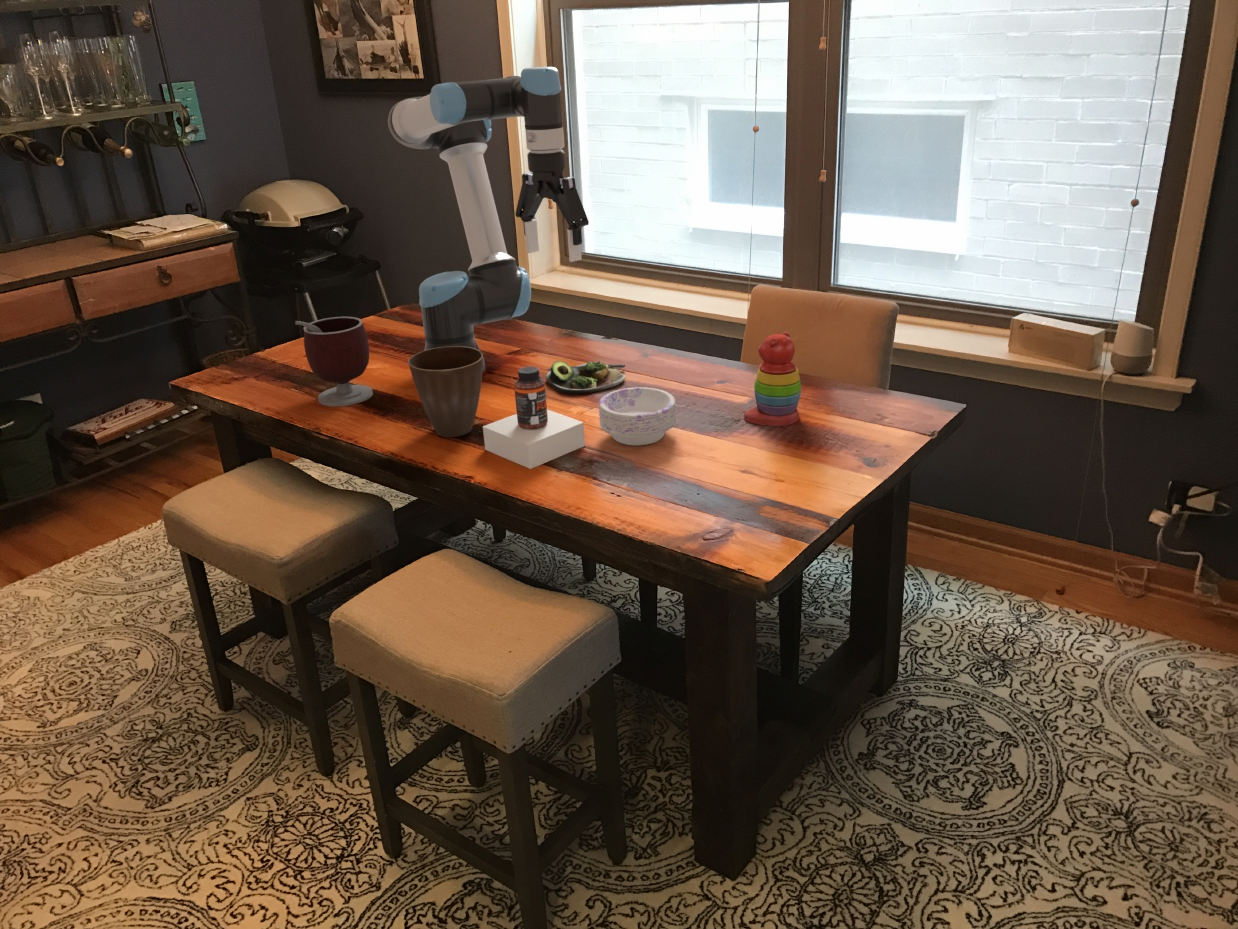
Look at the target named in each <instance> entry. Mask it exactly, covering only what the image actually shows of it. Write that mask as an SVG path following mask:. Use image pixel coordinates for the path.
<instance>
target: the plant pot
mask: <svg viewBox="0 0 1238 929" xmlns="http://www.w3.org/2000/svg"><path fill="white" fill-rule="evenodd" d="M483 358H484V354H483V352H482V351H481V349H480V350H478V349H475V348H471V347H464V346H447V347H438V348H432V349H428V350H425V349H423V350H422V351H420V352H417V353H415V354H413V355H412V356H411V357H409V359H408V360H407V362H408V363H407V364H408V367H409V370H410V373H411V377H412V381H413V383H414V386H415V389H416V393H417V395H418V398H419V401H420V403H421V405H422V408H423V410H424V411H425V414H426V416H427V418H428V420H429V422H430V423H431V426H432V428H433V430H434V431H435V432H436V434H437V435H438V436H440V437H444V438H455V437H462V436H466V435H467V434H469V433H470V432H471V431H472V430H473V426H474V422H475V419H476V416H477V411H478V406H479V401H480V397H481V396H480V395H481V388H482V381H483V380H482V379H483V372H482V369H483Z"/></svg>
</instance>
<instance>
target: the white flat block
mask: <svg viewBox="0 0 1238 929" xmlns="http://www.w3.org/2000/svg"><path fill="white" fill-rule="evenodd" d="M547 417H548V422H547V424H546V425H544V426H543V427H540V428H537V429H526V428H522V427H520V426H519V425H518V420H517V413H515V414H513V415H510V416H507V417H504V418H502V419H501V418H500V419H498V420H496V421H494V422H491V423H488V424H486V425H483V426H482V432H483V440H484V449H485V451H487V452H490V453H491V454H494V455H496V456H499V457H501V458H503V459H506V460H508V461H510V462H513V463H516V464H517V465H520V466H522V467H525V468H527V469H529V470H531V469H534V468H536V467H538V466H541V465H543V464H545V463H547V462H550V461H554V460H555V459H557V458H560V457H562V456H565V455H567V454H570V453H571V452H573V451H576V450H579V449H581V448H584V447H585V446H586V440H585V423H584V422H583V421H581V420H577V419H575V418H572V417H569V416H567V415H564V414H560V413H559V412H555V411H553V410H550V409H547Z"/></svg>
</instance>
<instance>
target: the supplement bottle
mask: <svg viewBox="0 0 1238 929" xmlns="http://www.w3.org/2000/svg"><path fill="white" fill-rule="evenodd" d="M539 369H540V368H538V367H536V366H524V367H520V368H518V370H517V377H518V378H517V380H515V382H514V384H513V385H514V386H513V387H514V396H515V397H514V399H515V407H516V408H515V409H516V414H517V420H518V425H519V426H520V427H522V428H526V429H537V428H540V427H543V426H544V425H546V424H547V422H548V417H547V410H548V406H547V404H548V403H547V392H546V383H545V380H544V379H543V378H542V377H541V376H540V370H539Z"/></svg>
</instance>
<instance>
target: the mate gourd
mask: <svg viewBox="0 0 1238 929" xmlns="http://www.w3.org/2000/svg"><path fill="white" fill-rule="evenodd" d="M294 322H295V325H297V326H303V347H304V352H305V356H306V360H307V362H308V365H309V367H310V369H311V371H312V373H313V374H314V375H316V377H318V378H319V379H320V380H321V381H324V382H329V383H335V384H337V385H336V386H334V387H331V388H328V389H326V390H323V392H320V393H319V394H318V396H317V400H318V403H319V404H320V405H323V406H327V407H347V406H351V405H356V404H359V403H362V402H365V401H368V400H369V399H370V398H372V396H373V395H374V394H373V393H374V392H373V388H372V387H370V386H367V385H365V384H364V385H363V384H351V381H352V380H355V379H357V378H358V377H360V376H362V375H363V374H364V372H365V371H366V369H367V367H368V365H369V363H370V362H369V361H370V346H369V340H368V334H367V332H366V328H365V326H364V323H363V320H362V319H361V318H358V317H354V316H335V317H328V318H322V319H318V320H315V321H311V322H305V321H301V320H299V321H298V320H295V321H294Z"/></svg>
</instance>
